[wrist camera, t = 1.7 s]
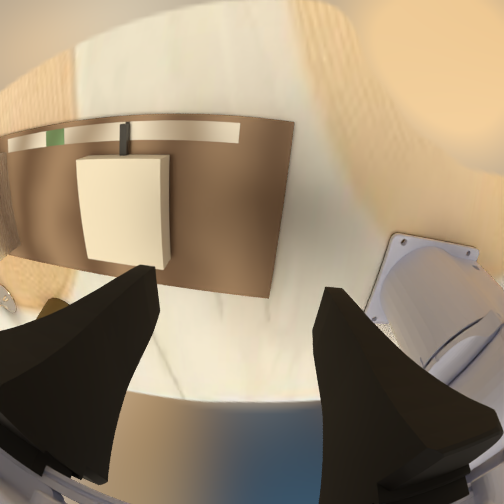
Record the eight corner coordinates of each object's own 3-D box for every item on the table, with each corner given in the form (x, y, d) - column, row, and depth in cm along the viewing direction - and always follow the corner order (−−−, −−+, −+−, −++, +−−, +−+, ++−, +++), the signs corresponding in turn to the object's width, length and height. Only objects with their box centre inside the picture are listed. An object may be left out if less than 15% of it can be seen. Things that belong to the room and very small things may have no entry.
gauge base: (293, 122, 15) (294, 122, 14) (269, 290, 21) (268, 299, 20) (-3, 137, 15) (-11, 140, 14) (14, 250, 21) (7, 255, 20)
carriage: (170, 122, 14) (161, 123, 13) (170, 258, 18) (163, 270, 17) (88, 126, 14) (75, 129, 13) (98, 248, 19) (88, 258, 17)
